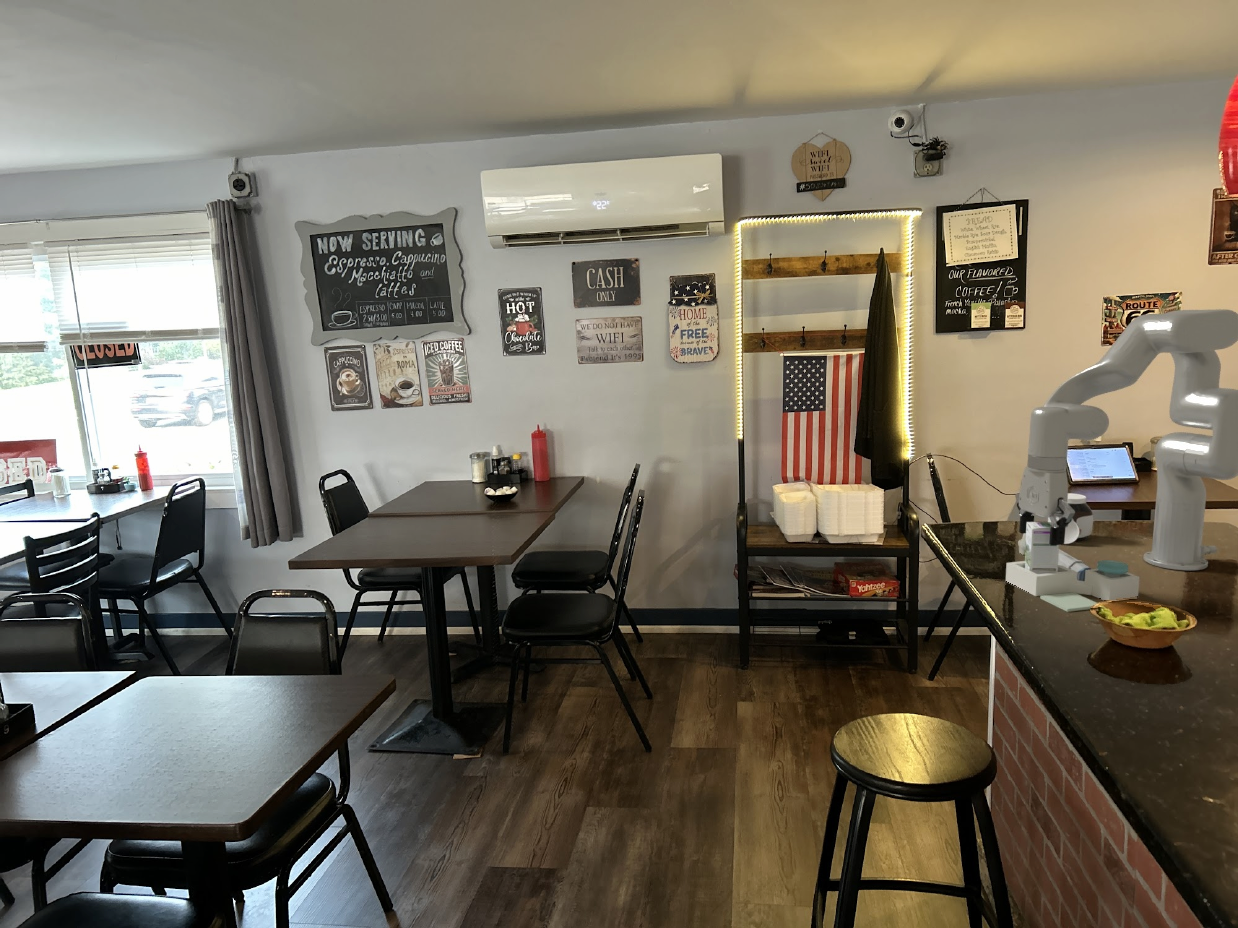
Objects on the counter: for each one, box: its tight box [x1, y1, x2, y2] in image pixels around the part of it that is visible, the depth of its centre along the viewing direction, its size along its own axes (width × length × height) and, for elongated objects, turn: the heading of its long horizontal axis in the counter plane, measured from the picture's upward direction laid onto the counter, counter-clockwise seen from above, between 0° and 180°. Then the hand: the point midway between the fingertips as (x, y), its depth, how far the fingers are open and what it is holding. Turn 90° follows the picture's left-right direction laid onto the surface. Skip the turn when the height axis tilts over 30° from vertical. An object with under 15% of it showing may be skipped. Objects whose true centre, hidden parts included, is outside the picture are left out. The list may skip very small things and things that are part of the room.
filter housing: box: [1005, 560, 1141, 601], centre depth 171 cm, size 18×18×5 cm
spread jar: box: [1047, 492, 1094, 545], centre depth 207 cm, size 12×11×12 cm
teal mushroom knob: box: [1096, 559, 1129, 578], centre depth 167 cm, size 6×6×6 cm
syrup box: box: [1024, 521, 1060, 574], centre depth 173 cm, size 6×6×14 cm
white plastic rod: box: [1017, 533, 1092, 581], centre depth 188 cm, size 5×7×25 cm
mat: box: [1039, 592, 1098, 613], centre depth 164 cm, size 8×8×1 cm
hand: (1040, 538), depth 172 cm, fingers open, 9 cm apart
